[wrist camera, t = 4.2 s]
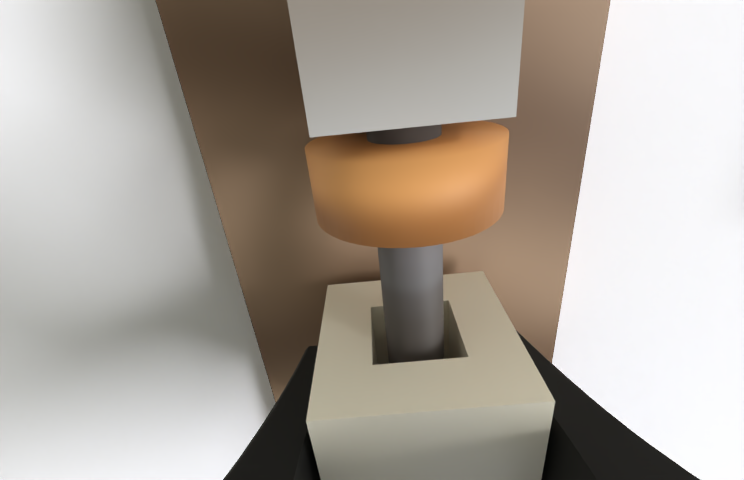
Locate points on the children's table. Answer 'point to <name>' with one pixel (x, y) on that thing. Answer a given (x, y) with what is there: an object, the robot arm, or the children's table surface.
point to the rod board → (391, 154)
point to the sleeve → (426, 393)
